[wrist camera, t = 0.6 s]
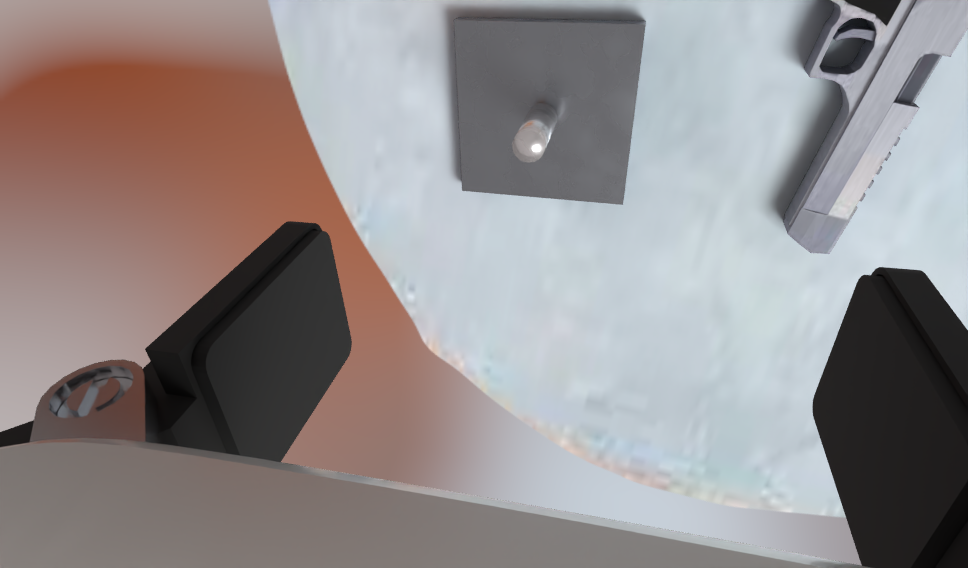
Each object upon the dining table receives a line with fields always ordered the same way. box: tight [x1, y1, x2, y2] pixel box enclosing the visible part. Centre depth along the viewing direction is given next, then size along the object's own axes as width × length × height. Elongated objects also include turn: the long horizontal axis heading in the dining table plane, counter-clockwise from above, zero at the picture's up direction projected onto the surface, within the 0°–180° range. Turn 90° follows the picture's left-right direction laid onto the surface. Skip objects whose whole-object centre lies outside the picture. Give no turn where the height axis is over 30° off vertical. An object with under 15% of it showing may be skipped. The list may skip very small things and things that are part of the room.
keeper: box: [454, 17, 646, 205], centre depth 37 cm, size 12×12×6 cm
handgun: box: [783, 0, 968, 254], centre depth 34 cm, size 2×22×12 cm
